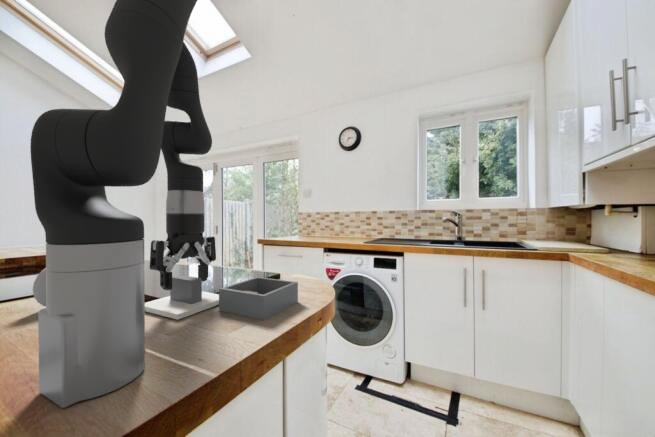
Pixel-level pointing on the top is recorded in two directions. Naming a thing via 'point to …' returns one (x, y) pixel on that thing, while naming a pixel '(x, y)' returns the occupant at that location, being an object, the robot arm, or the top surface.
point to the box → (258, 297)
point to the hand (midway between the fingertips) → (186, 284)
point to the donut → (40, 288)
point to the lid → (183, 299)
